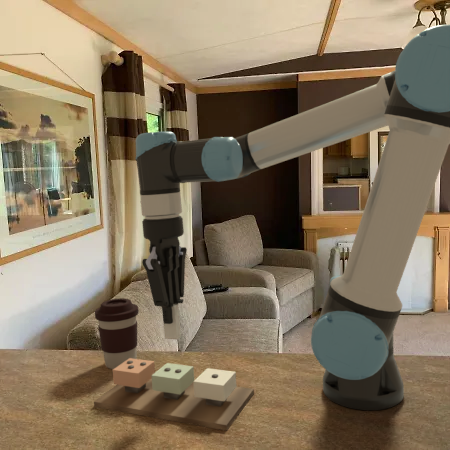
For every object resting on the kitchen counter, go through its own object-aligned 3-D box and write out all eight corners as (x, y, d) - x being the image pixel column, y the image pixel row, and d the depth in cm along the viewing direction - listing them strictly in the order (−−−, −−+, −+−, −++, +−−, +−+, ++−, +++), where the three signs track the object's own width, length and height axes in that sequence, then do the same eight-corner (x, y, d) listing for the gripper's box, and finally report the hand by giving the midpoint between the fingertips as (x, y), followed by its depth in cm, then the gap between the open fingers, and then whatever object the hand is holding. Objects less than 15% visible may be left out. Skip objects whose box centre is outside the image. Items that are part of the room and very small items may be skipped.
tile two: (194, 380, 96) (193, 365, 96) (180, 394, 91) (179, 378, 90) (168, 377, 98) (167, 362, 98) (152, 390, 93) (151, 374, 92)
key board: (253, 393, 96) (253, 383, 95) (226, 430, 83) (226, 418, 83) (134, 376, 107) (133, 366, 106) (94, 406, 94) (93, 395, 94)
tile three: (155, 375, 100) (154, 360, 99) (139, 388, 94) (138, 372, 94) (130, 371, 102) (129, 357, 101) (113, 384, 96) (112, 368, 96)
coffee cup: (132, 373, 108) (127, 308, 106) (92, 372, 110) (86, 308, 108) (148, 356, 118) (143, 296, 116) (110, 354, 120) (105, 296, 118)
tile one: (236, 386, 92) (235, 370, 92) (224, 401, 87) (223, 384, 87) (208, 382, 95) (207, 367, 94) (194, 396, 89) (193, 380, 89)
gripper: (162, 213, 98) (172, 325, 100) (125, 221, 86) (137, 348, 89) (195, 211, 95) (204, 327, 98) (161, 220, 83) (173, 352, 86)
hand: (173, 337), depth 93 cm, fingers closed
